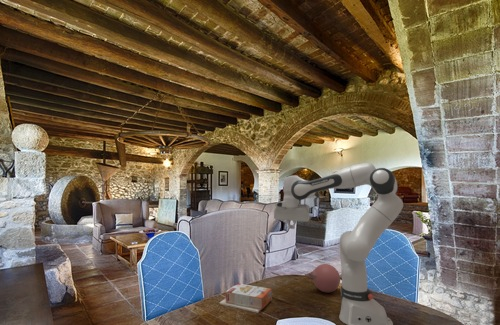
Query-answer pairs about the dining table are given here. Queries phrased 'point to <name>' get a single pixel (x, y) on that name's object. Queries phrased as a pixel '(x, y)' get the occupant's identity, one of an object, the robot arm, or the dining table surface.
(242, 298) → the cracker box
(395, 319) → the dining table surface
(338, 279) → the balloon
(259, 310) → the limestone tile
